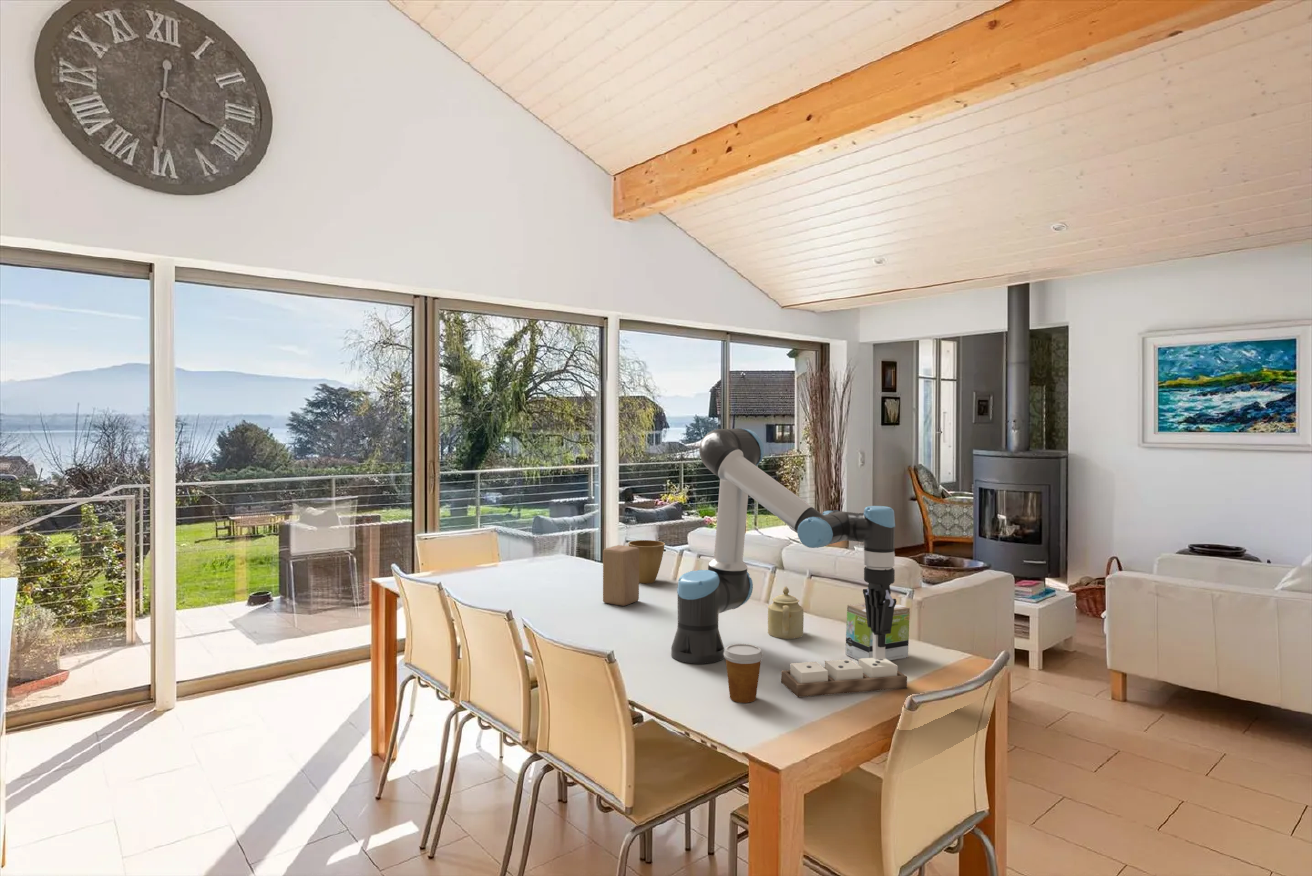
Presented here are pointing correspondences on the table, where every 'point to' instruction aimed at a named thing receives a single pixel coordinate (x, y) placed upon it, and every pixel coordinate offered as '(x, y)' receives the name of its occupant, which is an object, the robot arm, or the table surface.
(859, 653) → the tea box
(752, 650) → the disposable coffee cup
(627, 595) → the block
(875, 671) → the tile
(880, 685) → the board
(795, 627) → the beige teapot
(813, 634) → the table surface
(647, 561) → the plant pot
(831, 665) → the tile
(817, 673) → the tile
